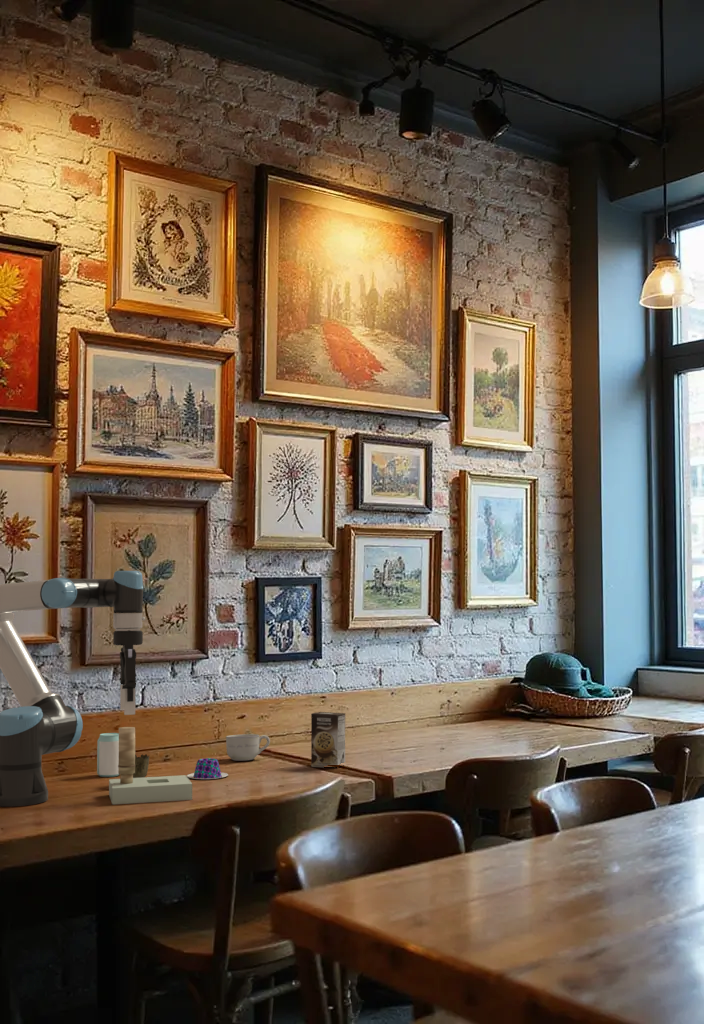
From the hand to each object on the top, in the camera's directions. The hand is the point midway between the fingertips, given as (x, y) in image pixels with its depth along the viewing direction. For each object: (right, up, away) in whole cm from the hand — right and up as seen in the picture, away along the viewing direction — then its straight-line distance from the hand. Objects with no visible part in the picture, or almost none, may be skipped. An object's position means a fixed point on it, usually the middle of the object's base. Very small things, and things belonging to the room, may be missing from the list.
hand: (127, 712), depth 276 cm
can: (-13, -25, +35) cm, 45 cm away
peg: (0, -18, -2) cm, 18 cm away
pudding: (+17, -25, +31) cm, 43 cm away
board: (+6, -22, 0) cm, 23 cm away
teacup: (+25, -27, +62) cm, 73 cm away
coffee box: (+51, -26, +48) cm, 75 cm away
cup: (-2, -24, +18) cm, 30 cm away
